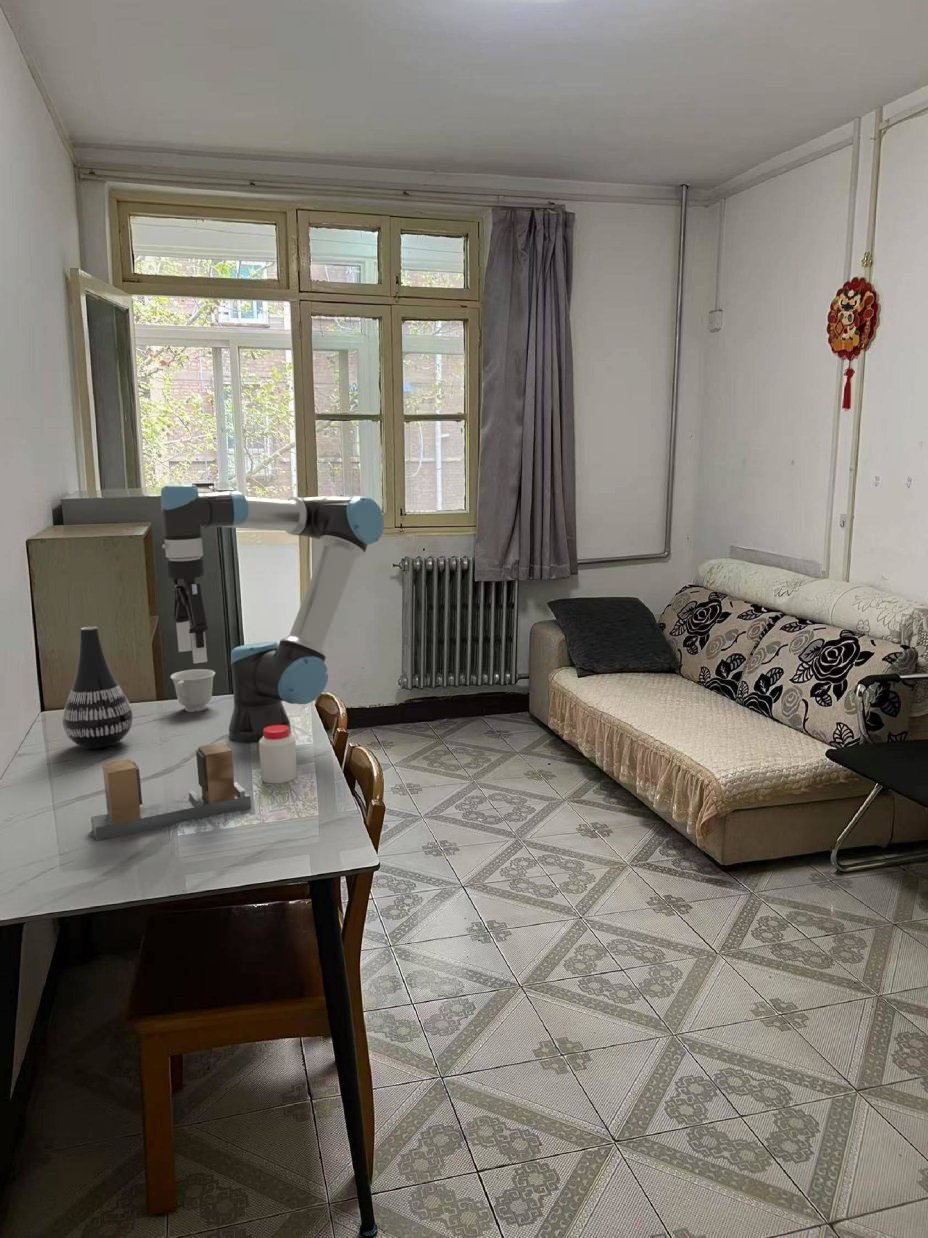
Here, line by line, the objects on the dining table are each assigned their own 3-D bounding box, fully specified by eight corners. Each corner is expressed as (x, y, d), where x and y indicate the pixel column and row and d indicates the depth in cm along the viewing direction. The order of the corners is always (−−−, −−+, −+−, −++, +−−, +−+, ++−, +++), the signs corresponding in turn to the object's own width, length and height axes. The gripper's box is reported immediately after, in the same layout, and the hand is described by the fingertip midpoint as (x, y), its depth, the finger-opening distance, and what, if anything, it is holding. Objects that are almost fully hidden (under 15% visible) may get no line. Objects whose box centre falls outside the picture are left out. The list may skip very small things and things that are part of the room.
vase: (135, 733, 236) (125, 619, 231) (134, 751, 221) (123, 630, 216) (68, 740, 231) (56, 625, 226) (62, 760, 216) (49, 636, 211)
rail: (242, 798, 189) (238, 739, 187) (251, 807, 184) (246, 747, 182) (92, 829, 175) (85, 766, 173) (96, 840, 170) (90, 776, 168)
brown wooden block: (226, 789, 187) (223, 742, 185) (235, 798, 182) (231, 750, 180) (199, 795, 185) (195, 747, 183) (206, 804, 179) (202, 755, 178)
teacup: (160, 717, 249) (156, 681, 247) (185, 702, 264) (182, 668, 262) (202, 718, 247) (199, 682, 245) (225, 703, 262) (222, 669, 260)
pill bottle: (304, 773, 203) (301, 725, 201) (283, 785, 196) (280, 735, 194) (275, 769, 206) (272, 721, 204) (254, 780, 199) (250, 731, 197)
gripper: (154, 554, 204) (162, 648, 208) (180, 565, 183) (188, 670, 186) (188, 552, 208) (196, 644, 211) (217, 562, 186) (225, 665, 190)
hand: (192, 656), depth 199 cm, fingers open, 13 cm apart
